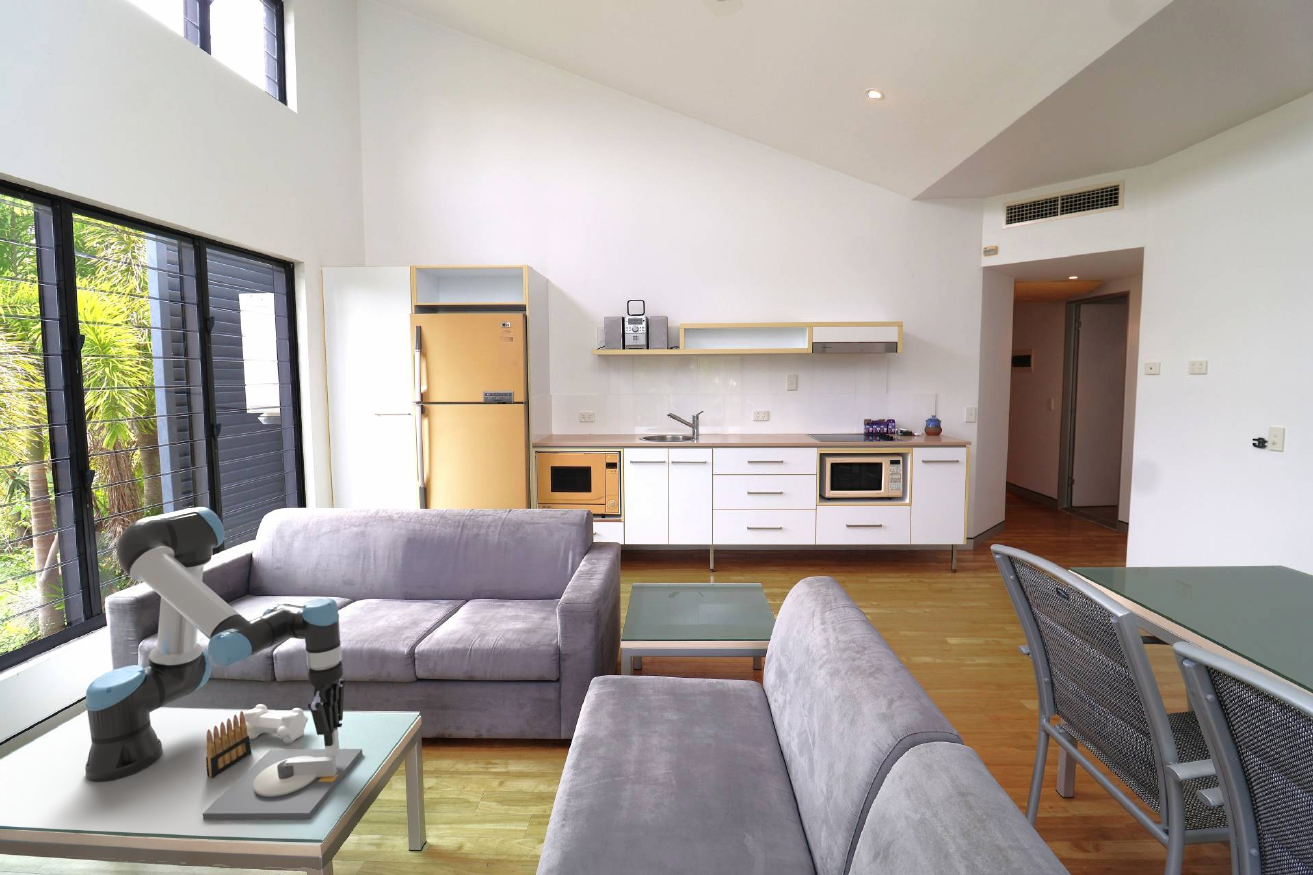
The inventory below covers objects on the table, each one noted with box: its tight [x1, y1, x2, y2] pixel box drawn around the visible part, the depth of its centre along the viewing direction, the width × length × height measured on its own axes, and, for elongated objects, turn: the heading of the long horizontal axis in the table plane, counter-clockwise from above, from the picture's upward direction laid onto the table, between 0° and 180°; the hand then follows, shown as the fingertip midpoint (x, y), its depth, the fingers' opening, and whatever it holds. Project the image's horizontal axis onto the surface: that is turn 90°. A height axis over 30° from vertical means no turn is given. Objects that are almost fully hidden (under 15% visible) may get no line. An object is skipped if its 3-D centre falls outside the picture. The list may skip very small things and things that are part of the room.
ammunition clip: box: [205, 710, 252, 779], centre depth 162 cm, size 11×2×12 cm, turn 163°
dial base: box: [202, 748, 363, 821], centre depth 154 cm, size 24×24×2 cm
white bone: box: [244, 703, 309, 744], centre depth 175 cm, size 15×9×8 cm, turn 78°
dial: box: [253, 756, 337, 797], centre depth 154 cm, size 18×14×4 cm
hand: (332, 754), depth 159 cm, fingers closed
